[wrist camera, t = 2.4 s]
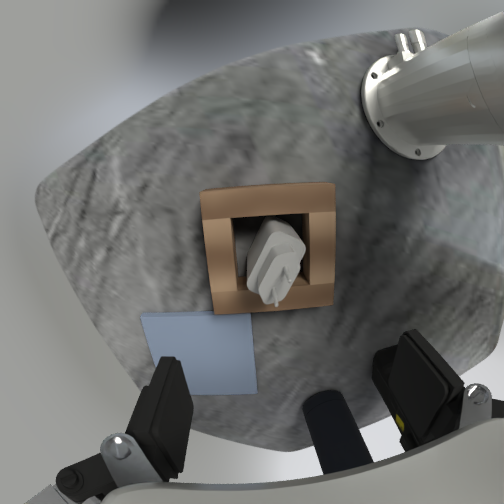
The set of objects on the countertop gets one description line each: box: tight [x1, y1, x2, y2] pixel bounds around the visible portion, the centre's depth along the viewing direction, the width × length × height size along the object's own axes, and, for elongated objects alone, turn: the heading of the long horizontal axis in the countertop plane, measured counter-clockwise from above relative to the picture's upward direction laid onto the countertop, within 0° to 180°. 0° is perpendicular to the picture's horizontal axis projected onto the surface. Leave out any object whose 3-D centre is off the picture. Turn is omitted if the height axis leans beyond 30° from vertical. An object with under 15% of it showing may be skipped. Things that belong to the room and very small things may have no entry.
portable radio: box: [372, 345, 436, 452], centre depth 22 cm, size 8×6×25 cm
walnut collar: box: [199, 182, 336, 315], centre depth 27 cm, size 12×12×4 cm
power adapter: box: [247, 216, 306, 307], centre depth 23 cm, size 3×5×12 cm, turn 155°
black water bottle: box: [302, 390, 374, 475], centre depth 22 cm, size 6×6×30 cm
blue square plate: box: [140, 311, 258, 395], centre depth 32 cm, size 13×13×1 cm
